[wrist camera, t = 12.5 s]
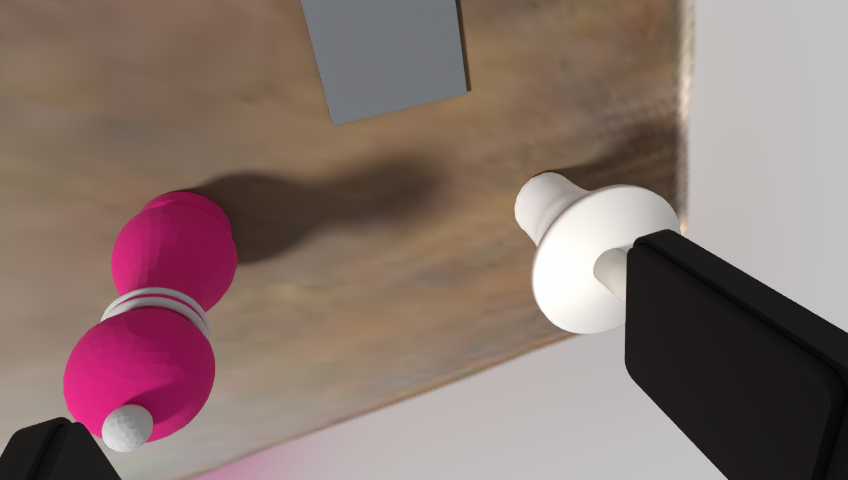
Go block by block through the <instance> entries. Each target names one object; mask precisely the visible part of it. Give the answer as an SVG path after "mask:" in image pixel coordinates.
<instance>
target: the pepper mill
mask: <svg viewBox="0 0 848 480" xmlns="http://www.w3.org/2000/svg"><path fill="white" fill-rule="evenodd" d="M111 266H112V274H113V279H114V283H115V286H116V288H117V290H118V292H119V294H120V296H121V297H119V298H118V299H116V300H115V301H114V302H112V303H111V305H110V306H109V307H108V308H107V309H106V311H105V312H104V315H103V317H102V319H101V322H100V323H99V324H97V325H96V326H94V327H93V328H91V329H90V330H89V331H88V332H87V333H86V334H85V335H84V336H83V337H82V338H81V339H80V340H79V342H78V343H77V344H76V346H75V347H74V349H73V350H72V352H71V355H70V357H69V359H68V362H67V365H66V369H65V373H64V377H63V393H64V397H65V400H66V404H67V407H68V410H69V411H70V413H71V414H72V416H73V417H74V418H75V420H76V421H77V422H80V423H82V424H84V426H85V427H86V428H87V429H88V431H89V432H90V433H92V434H94V435H96V436H97V437H99V438H103V440H104V442H105V443H106V445H107V446H108V447H109V448H111V449H113V450H116V451H118V452H127V451H131V450H134V449H136V448H139V447H140V446H141V445H143V444H144V443H146V442H152V441H155V440H159V439H161V438H164V437H167V436H169V435H171V434H173V433H175V432H176V431H178V430H179V429H181V428H183V427H184V426H186V425H187V424H188V423H189V422H190V421H191V420H192V419H193V418H194V417H195V416H196V415H197V414H198V413H199V411H200V410H201V409H202V407H203V406H204V404H205V402H206V401H207V399H208V397H209V394H210V392H211V389H212V386H213V382H214V377H215V358H214V354H213V351H212V348H211V345H210V343H209V341H208V338H209V333H210V329H209V321H208V318H207V316H206V314H205V312H206V311H208V310H209V309H210V308H212V307H213V306H214V305H215V304H216V303H217V302H218V301H219V300H220V299H221V297H222V296H223V295H224V294H225V292H226V291H227V290H228V288H229V286H230V285H231V283H232V280H233V277H234V274H235V270H236V266H237V252H236V246H235V243H234V241H233V239H232V230H231V225H230V222H229V219H228V217H227V215H226V214H225V213H224V211H223V210H222V209H221V208H220V207H219V206H218V205H217V204H216V203H215V202H213V201H212V200H210V199H208V198H206V197H204V196H202V195H199V194H196V193H191V192H171V193H167V194H163V195H161V196H158V197H156V198H155V199H153V200H152V201H150V202H149V203H148V204H147V205H146V206H145V207H144V208H143V209H142V211H141V212H140V214H138V215H137V216H135V217H134V218H133V219H131V220H130V221H129V222H128V223H127V224H126V225H125V226H124V227H123V229H122V230H121V232H120V233H119V235H118V237H117V240H116V243H115V246H114V249H113V253H112V259H111Z"/></svg>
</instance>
